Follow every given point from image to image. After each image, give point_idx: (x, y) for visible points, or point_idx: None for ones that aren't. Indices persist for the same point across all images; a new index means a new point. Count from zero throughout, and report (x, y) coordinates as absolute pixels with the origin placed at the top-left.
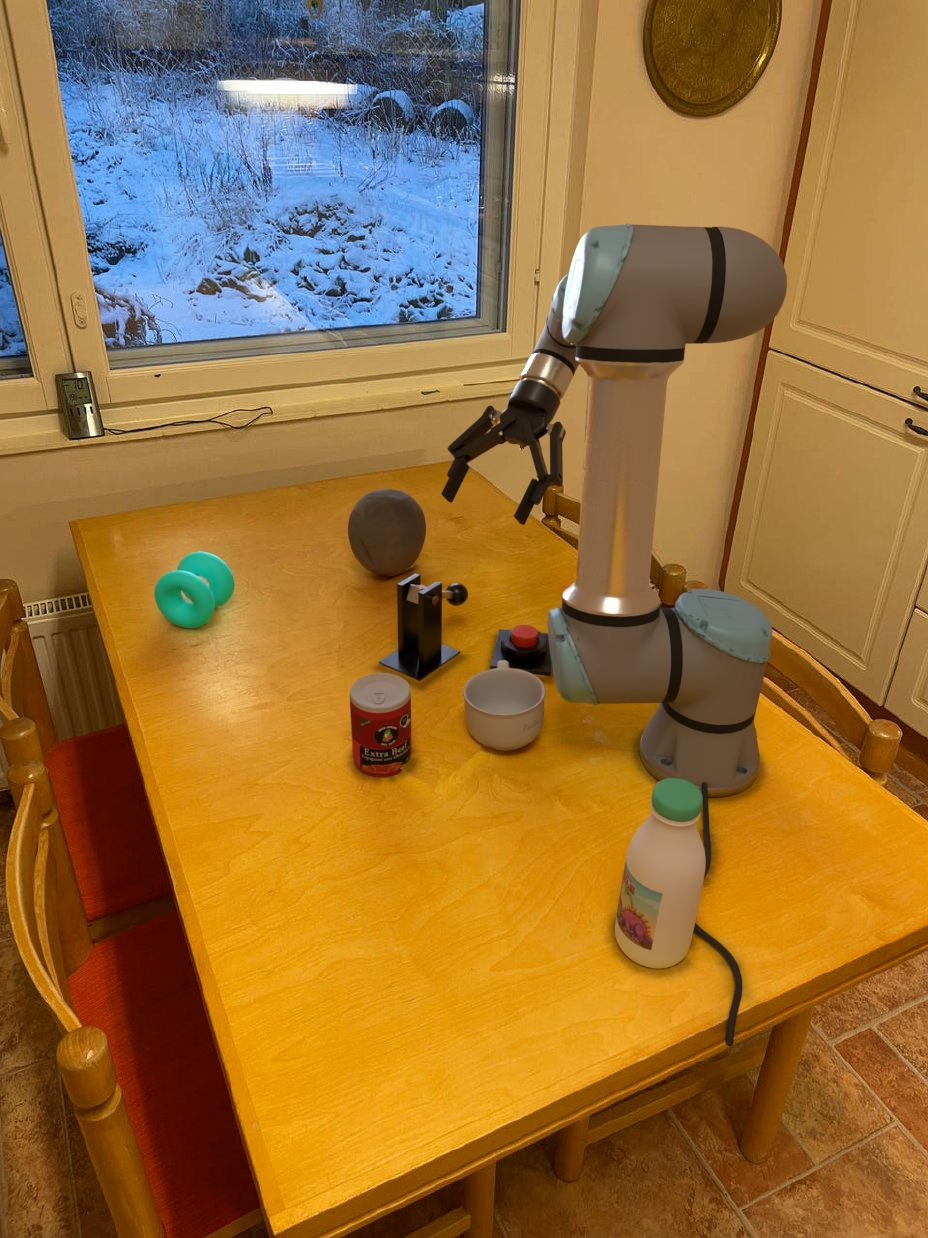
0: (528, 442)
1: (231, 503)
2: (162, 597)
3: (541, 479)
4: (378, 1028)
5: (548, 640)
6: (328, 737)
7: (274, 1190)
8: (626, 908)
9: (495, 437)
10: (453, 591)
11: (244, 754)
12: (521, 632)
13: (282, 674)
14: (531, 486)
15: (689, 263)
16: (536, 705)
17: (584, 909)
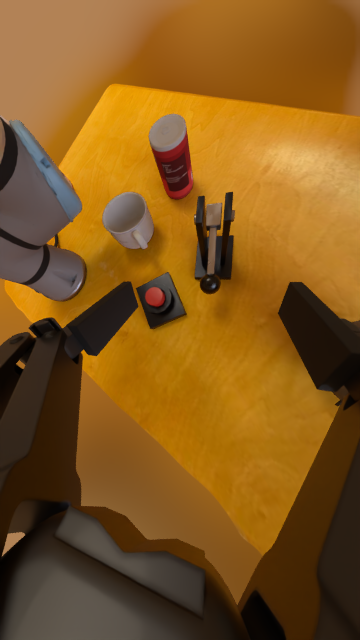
0: (7, 467)
1: None
2: None
3: (52, 324)
4: (115, 119)
5: (150, 318)
6: (212, 179)
7: (114, 84)
8: None
9: (297, 572)
10: (208, 273)
11: (240, 143)
12: (155, 293)
13: (283, 194)
14: (85, 313)
15: None
16: (103, 212)
17: (82, 187)
